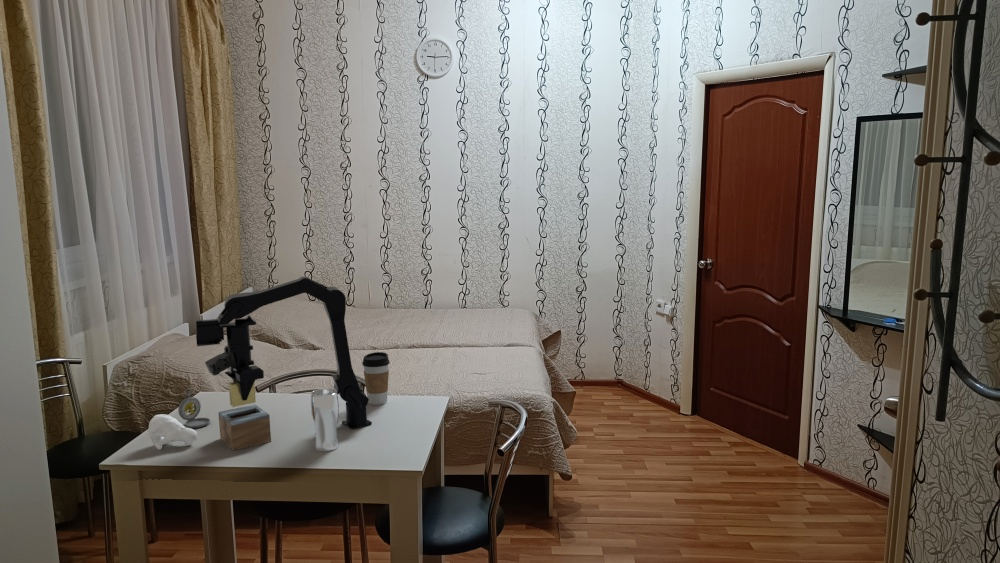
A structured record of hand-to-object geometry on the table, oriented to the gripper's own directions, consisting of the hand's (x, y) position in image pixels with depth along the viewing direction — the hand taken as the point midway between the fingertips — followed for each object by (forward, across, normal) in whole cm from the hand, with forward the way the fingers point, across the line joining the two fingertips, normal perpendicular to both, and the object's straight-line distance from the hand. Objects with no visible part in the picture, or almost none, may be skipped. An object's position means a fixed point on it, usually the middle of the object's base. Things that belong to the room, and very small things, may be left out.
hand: (242, 399), depth 195 cm
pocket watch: (+12, -22, -7) cm, 26 cm away
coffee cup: (+12, -6, +43) cm, 45 cm away
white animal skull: (+12, -8, -16) cm, 21 cm away
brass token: (+1, 0, 0) cm, 1 cm away
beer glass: (+12, +19, +15) cm, 27 cm away
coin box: (+11, 0, 0) cm, 11 cm away
